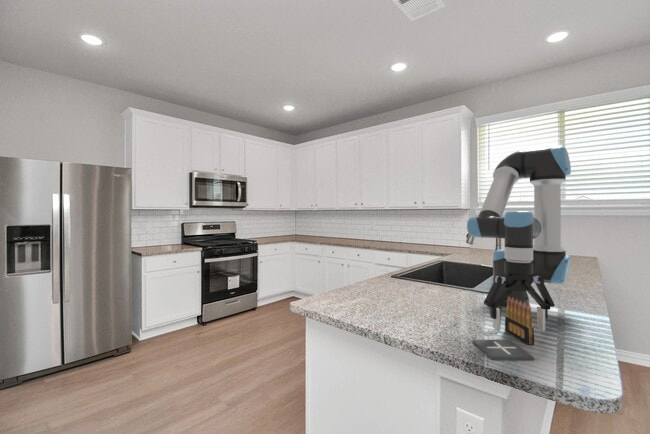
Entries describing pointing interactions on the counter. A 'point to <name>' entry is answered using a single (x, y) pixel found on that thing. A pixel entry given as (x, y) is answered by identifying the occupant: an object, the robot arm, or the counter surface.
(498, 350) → the mat
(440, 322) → the counter surface
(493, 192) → the robot arm
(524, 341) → the ammunition clip
